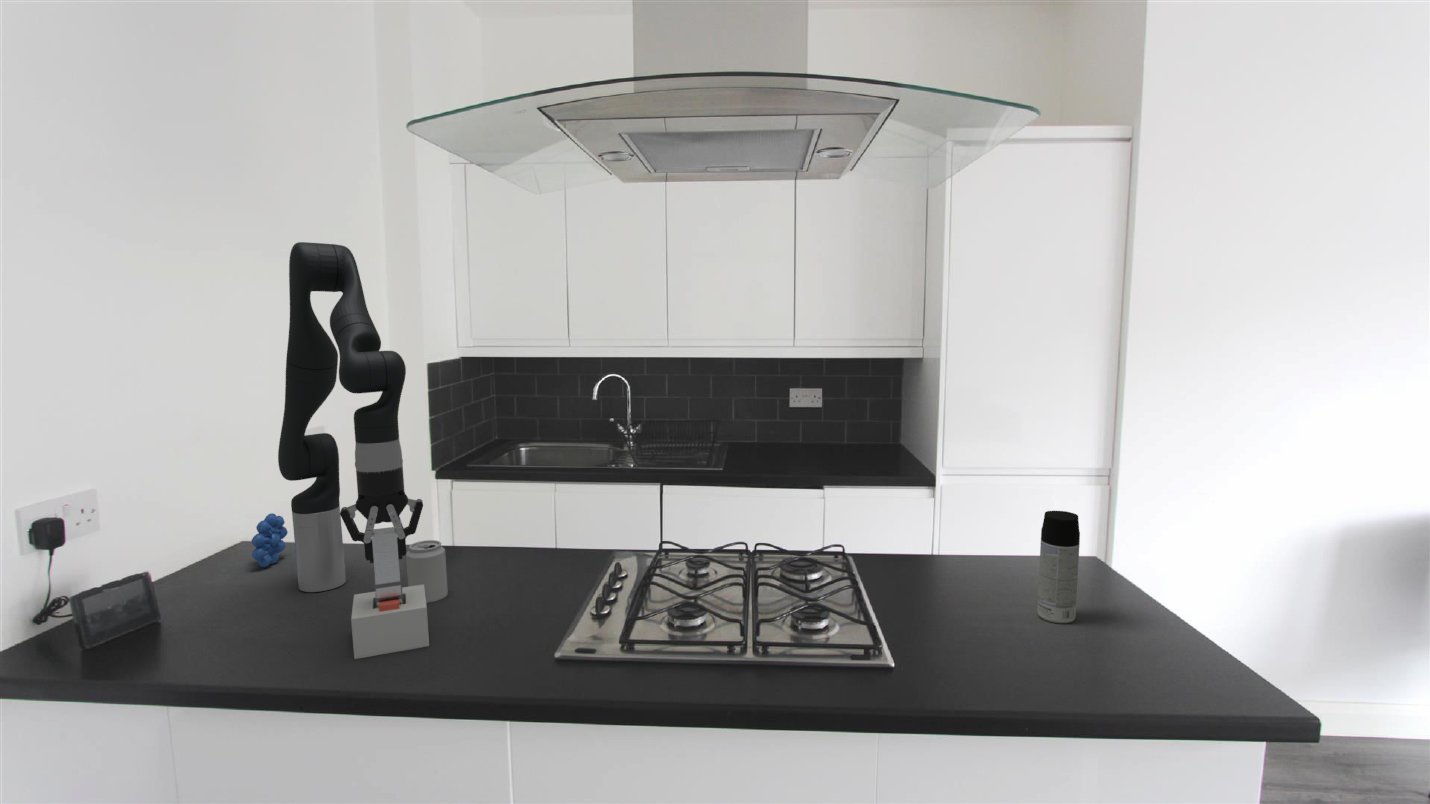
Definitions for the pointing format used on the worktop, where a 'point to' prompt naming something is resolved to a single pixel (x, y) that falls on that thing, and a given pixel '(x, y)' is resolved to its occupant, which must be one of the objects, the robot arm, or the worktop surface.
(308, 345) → the robot arm
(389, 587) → the column
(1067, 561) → the spray can
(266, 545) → the grapes
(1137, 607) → the worktop surface
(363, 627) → the stand base
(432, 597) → the can
